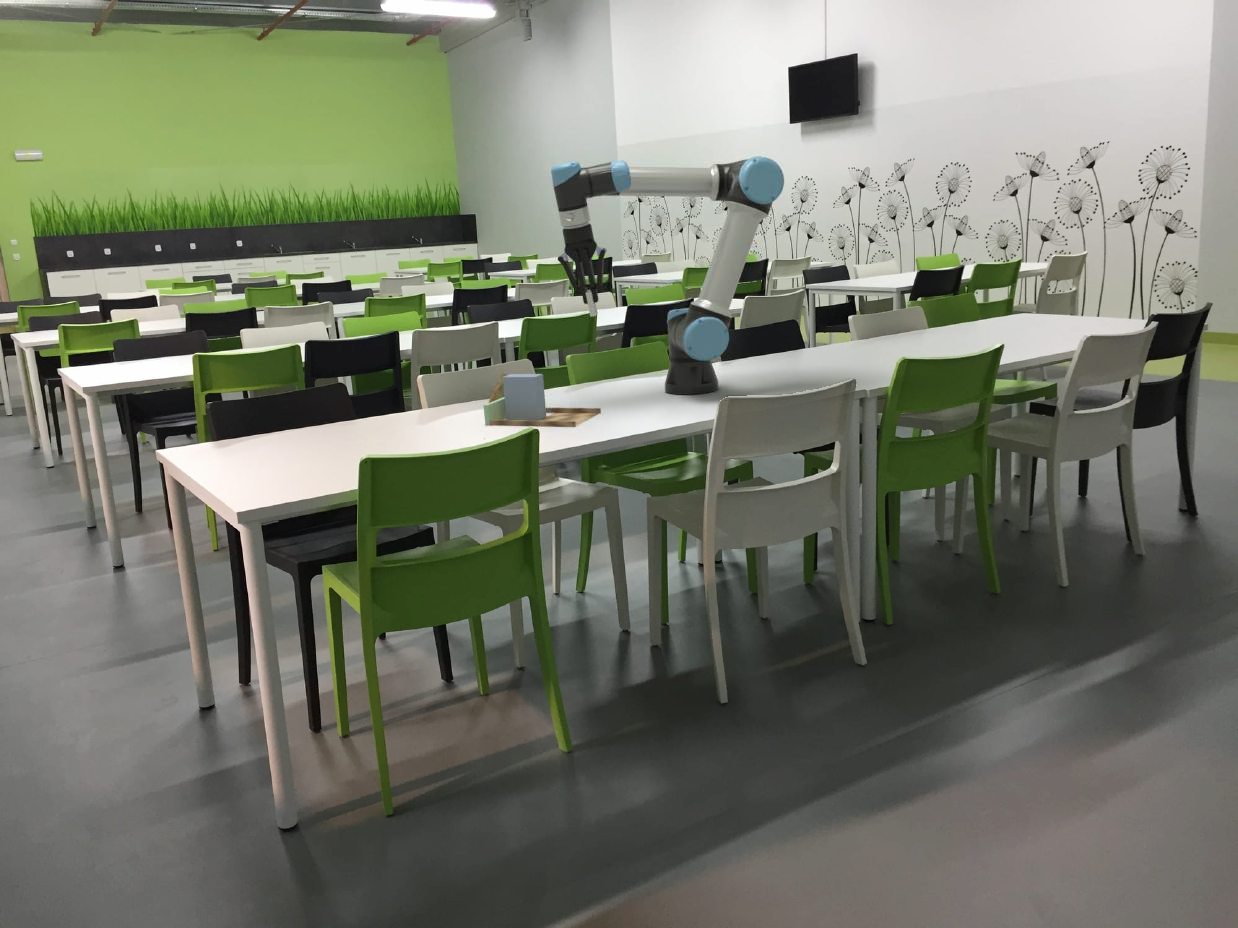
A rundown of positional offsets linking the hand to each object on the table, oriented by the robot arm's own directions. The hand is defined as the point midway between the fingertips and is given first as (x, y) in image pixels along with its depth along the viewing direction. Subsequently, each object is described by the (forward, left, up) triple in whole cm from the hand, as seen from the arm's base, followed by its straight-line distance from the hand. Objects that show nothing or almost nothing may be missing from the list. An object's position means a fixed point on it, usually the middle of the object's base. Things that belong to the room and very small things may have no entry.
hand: (593, 315), depth 262 cm
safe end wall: (+21, +19, -24) cm, 37 cm away
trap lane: (+9, +21, -24) cm, 34 cm away
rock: (+26, +5, -25) cm, 36 cm away
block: (+15, +20, -23) cm, 34 cm away
